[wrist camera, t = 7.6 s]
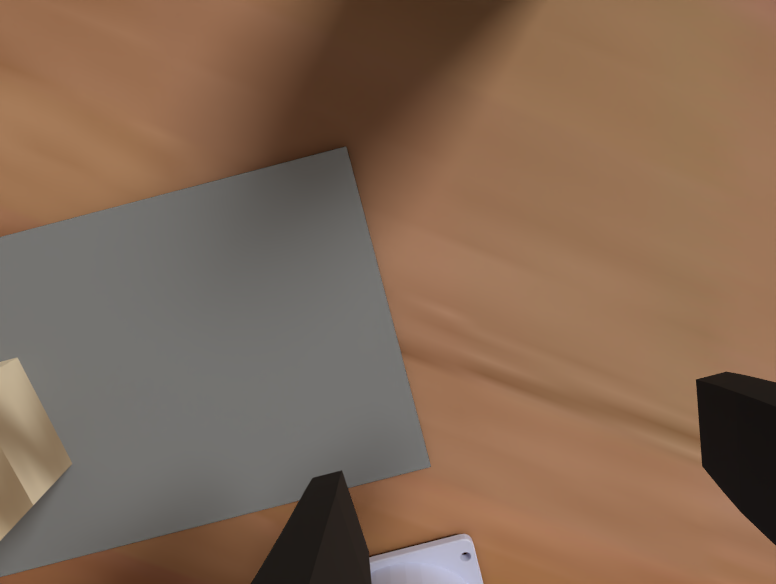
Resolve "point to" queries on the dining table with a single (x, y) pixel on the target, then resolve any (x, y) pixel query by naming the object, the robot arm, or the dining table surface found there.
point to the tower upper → (11, 497)
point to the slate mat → (204, 356)
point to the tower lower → (28, 433)
